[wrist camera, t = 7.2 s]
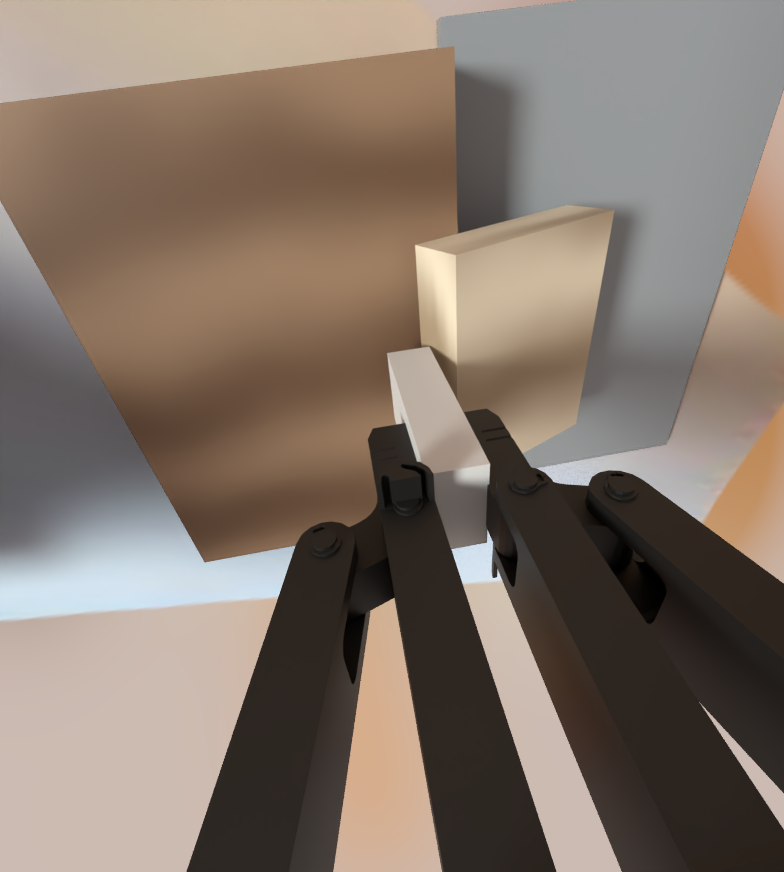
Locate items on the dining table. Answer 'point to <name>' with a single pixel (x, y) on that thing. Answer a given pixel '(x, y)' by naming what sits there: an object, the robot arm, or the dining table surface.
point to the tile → (516, 315)
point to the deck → (244, 270)
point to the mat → (622, 171)
